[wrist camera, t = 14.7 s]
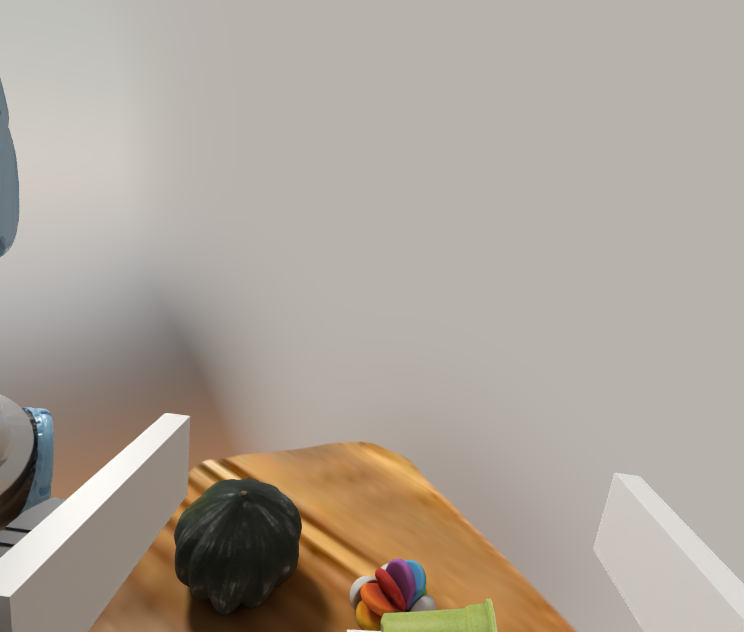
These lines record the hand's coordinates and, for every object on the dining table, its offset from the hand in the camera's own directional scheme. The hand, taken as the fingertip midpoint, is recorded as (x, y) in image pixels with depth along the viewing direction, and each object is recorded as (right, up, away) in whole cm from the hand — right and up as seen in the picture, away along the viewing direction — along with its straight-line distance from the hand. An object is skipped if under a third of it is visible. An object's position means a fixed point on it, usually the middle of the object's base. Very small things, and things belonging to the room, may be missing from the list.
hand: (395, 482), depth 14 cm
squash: (-17, -28, +41) cm, 53 cm away
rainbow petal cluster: (+1, -31, +39) cm, 50 cm away
